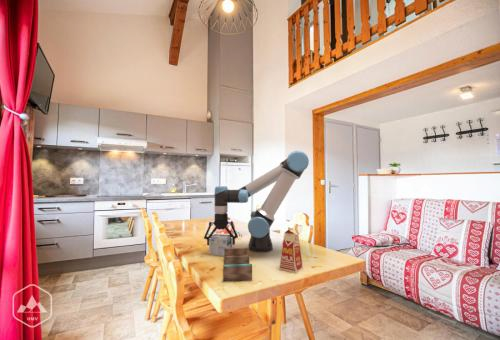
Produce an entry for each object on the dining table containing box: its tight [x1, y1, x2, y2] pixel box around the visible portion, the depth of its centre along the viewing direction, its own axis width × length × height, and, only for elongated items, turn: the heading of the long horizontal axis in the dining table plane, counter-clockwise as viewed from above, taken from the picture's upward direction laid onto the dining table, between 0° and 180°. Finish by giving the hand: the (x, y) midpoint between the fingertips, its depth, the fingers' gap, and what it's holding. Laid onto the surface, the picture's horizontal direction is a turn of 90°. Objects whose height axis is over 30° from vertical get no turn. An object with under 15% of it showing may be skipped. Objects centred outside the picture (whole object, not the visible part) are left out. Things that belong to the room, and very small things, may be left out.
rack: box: [223, 247, 253, 283], centre depth 118 cm, size 12×28×7 cm, turn 5°
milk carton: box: [278, 226, 304, 274], centre depth 119 cm, size 9×9×20 cm
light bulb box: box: [210, 233, 232, 257], centre depth 142 cm, size 11×7×11 cm, turn 71°
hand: (221, 250), depth 142 cm, fingers closed on light bulb box, 12 cm apart
